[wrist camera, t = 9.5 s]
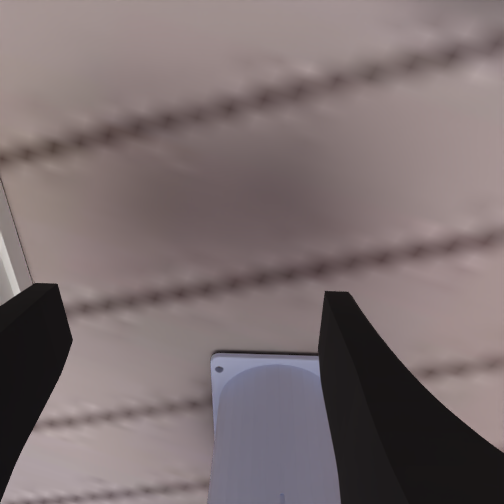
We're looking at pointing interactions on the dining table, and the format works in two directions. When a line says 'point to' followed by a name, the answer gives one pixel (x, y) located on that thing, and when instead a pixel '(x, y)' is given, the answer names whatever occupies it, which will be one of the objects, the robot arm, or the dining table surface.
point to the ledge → (10, 256)
